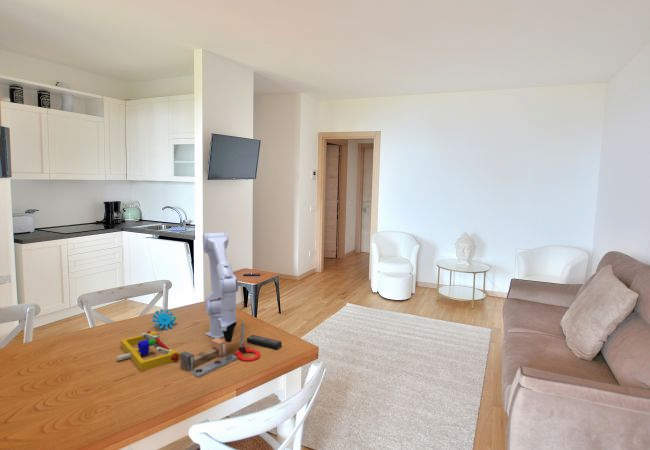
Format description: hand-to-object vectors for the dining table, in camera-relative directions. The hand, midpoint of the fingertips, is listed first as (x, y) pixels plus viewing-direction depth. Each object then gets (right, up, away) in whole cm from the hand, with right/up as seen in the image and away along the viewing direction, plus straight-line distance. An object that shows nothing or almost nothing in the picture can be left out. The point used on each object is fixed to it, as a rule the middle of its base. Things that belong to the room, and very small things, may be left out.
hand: (228, 341), depth 156 cm
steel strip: (-2, -5, -13) cm, 14 cm away
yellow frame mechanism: (-32, -4, -5) cm, 32 cm away
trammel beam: (-7, -4, -9) cm, 12 cm away
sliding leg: (-3, -4, -3) cm, 6 cm away
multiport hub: (+13, -4, +6) cm, 15 cm away
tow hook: (+9, -5, -4) cm, 11 cm away
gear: (-34, 0, +21) cm, 40 cm away
